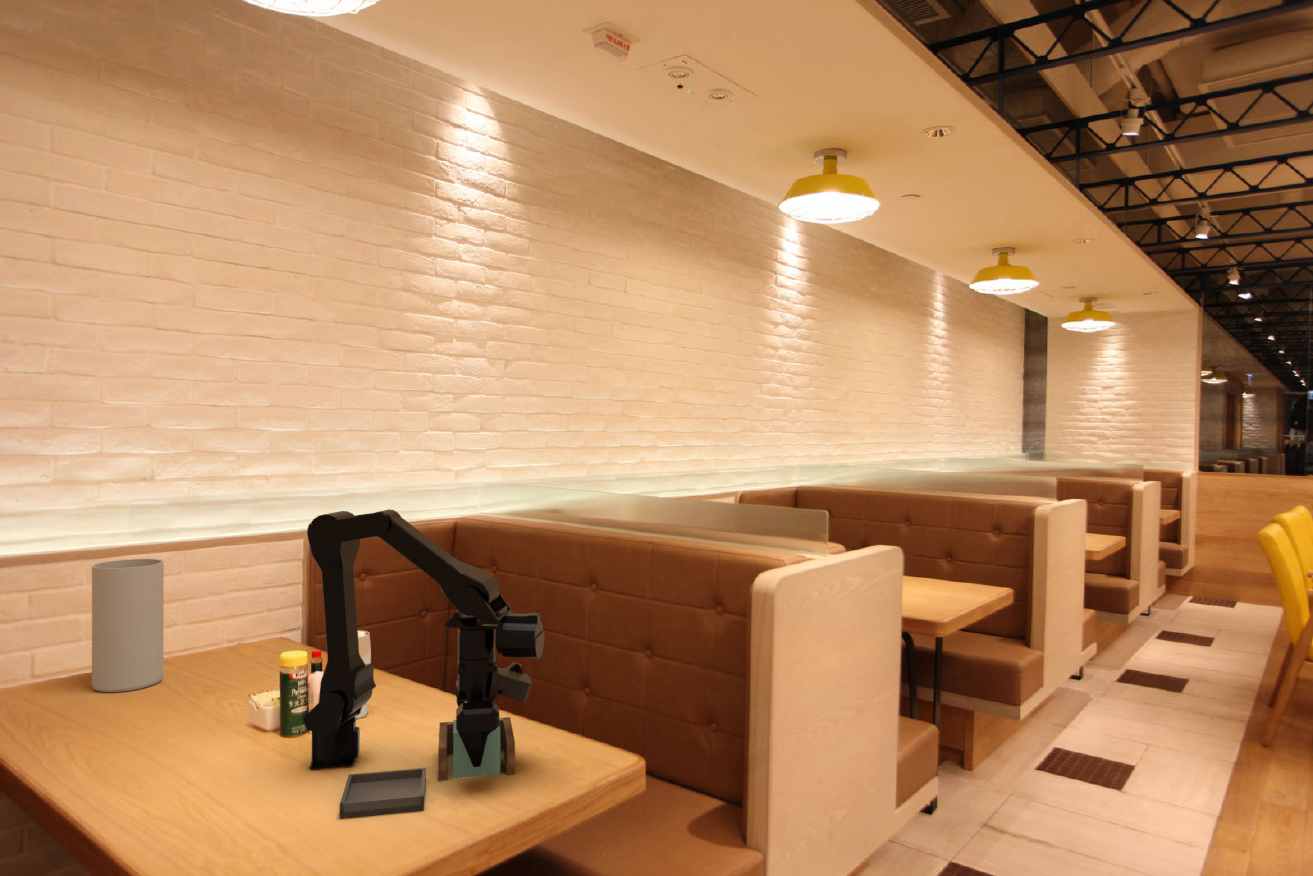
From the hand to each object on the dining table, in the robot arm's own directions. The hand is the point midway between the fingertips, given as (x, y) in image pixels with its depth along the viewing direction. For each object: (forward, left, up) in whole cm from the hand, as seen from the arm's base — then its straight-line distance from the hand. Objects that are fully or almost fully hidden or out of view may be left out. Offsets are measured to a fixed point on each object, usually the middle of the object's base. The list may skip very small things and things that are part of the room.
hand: (476, 755), depth 130 cm
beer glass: (-22, +30, -2) cm, 37 cm away
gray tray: (-13, -8, -2) cm, 15 cm away
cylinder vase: (-69, +60, -2) cm, 91 cm away
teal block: (0, 0, -2) cm, 2 cm away
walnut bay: (0, +2, -2) cm, 3 cm away
